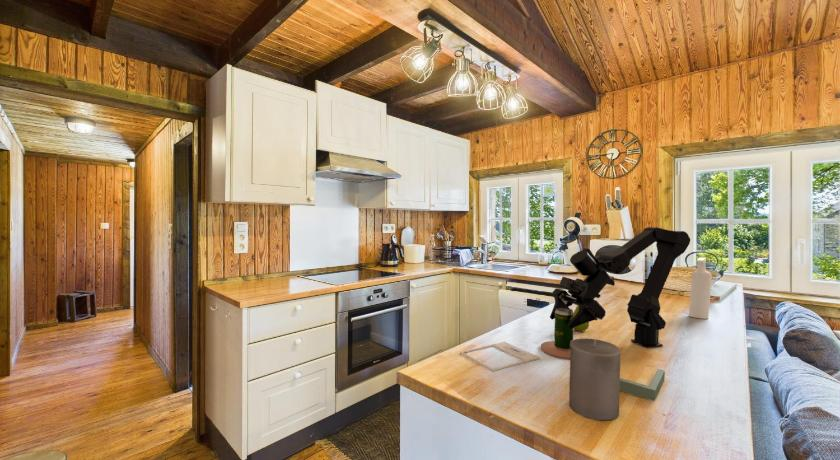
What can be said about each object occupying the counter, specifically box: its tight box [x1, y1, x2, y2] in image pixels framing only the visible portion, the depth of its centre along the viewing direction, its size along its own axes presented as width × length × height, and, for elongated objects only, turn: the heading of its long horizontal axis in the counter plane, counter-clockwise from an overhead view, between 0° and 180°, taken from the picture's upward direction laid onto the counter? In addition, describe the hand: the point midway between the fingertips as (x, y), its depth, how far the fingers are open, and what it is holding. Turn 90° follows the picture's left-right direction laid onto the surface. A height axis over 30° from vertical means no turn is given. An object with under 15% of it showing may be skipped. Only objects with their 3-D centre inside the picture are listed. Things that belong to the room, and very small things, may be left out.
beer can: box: [553, 308, 574, 351], centre depth 108 cm, size 5×5×12 cm
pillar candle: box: [568, 337, 621, 421], centre depth 75 cm, size 10×10×15 cm
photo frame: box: [459, 341, 541, 373], centre depth 104 cm, size 15×1×18 cm
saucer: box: [540, 340, 570, 360], centre depth 108 cm, size 13×13×1 cm
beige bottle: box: [688, 257, 713, 320], centre depth 148 cm, size 7×12×25 cm, turn 131°
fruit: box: [573, 305, 590, 332], centre depth 128 cm, size 6×6×12 cm
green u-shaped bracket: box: [620, 368, 666, 402], centre depth 90 cm, size 14×17×2 cm
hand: (559, 322), depth 108 cm, fingers open, 9 cm apart
